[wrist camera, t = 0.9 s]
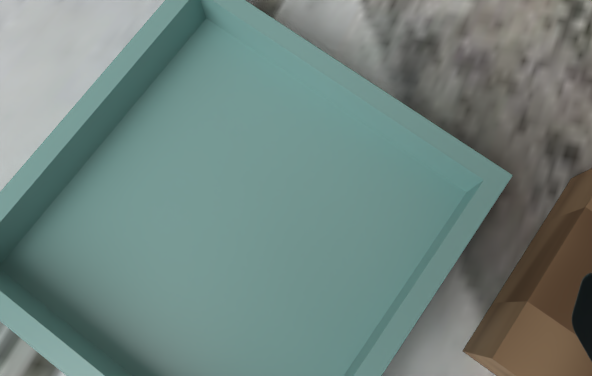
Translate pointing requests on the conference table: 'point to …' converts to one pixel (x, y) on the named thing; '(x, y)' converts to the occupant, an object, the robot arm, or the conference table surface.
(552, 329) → the pin block
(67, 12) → the conference table surface
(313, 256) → the tray
